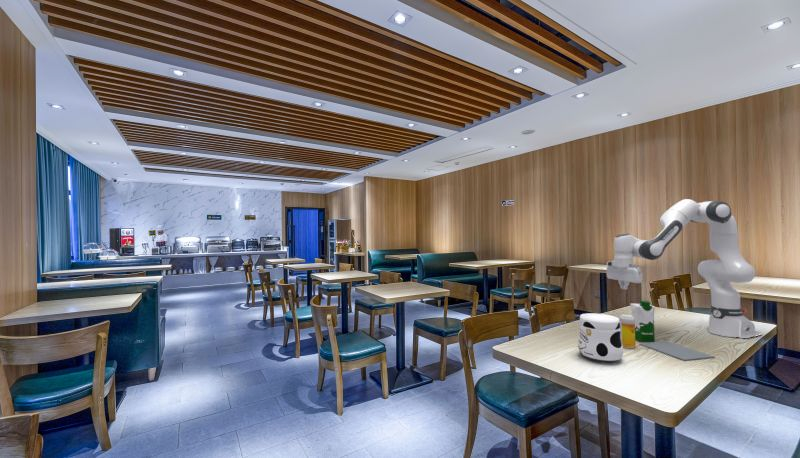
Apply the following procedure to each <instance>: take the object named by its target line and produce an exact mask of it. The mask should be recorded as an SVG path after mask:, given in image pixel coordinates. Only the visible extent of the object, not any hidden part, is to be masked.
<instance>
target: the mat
mask: <svg viewBox="0 0 800 458" xmlns="http://www.w3.org/2000/svg"><path fill="white" fill-rule="evenodd" d="M638 345H639V346H642V347H644V348H647V349H650V350H653V351H655V352H658V353H661V354H663V355H667V356H669V357H672V358H675V359H677V360H680V361H682V362H690V361H698V360H707V359H708V360H709V359H715V357H716V356H714V355H711V354H708V353H705V352H702V351H699V350H695V349H692V348H691V347H687V346H683V345H681V344H677V343H674V342H673V341H672V342H671V341H669V340H662V341H655V342H640V343H639V344H638Z"/></svg>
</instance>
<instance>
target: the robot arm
mask: <svg viewBox="0 0 800 458" xmlns="http://www.w3.org/2000/svg"><path fill="white" fill-rule="evenodd" d="M659 222H660V225H661V226H662V228H663V229H662V230H661V231H660V232H659V233H658V235H656V236H655V237H654V238H652V239H648V240H647V239H646V240H645V239H640V238H637V237H635V236H633V235H632V234H630V233H623V234H622V233H621V234H617V235H616V236H615V237H614V240H613V252H614V257H613V260H610V261H609V260H608V261H607V262H606V266H607V267H606V277H607V279H610V280H613V281H618V285H619V286H620V287H619V288H620V290H621V289H622V290H626V291H627V290H628V289H629V288H628V287H629V286H630V283H634V284H642V282H643V274H642V269H641V267H640V266H639V265H638V264H637V265H636V264H634V257H635V258H640V259H646V260H650V261H654V260H658V259H659V258H661V257H662V255H664V254H663V253H664V252H665V250H666V248H667V247H668V246H669V245H670V243H671V242H672V241H673V240H674V239H675V238H676V237H677V236H678V235H679V234H680V233H681V232H682V230H683V228H684V227H685V226H686V225H688V223H689V222H692V223H707V224H708V226H709V249H710V251H712V252H713V253H715V254H716V255H717V257H718V259H706V260H702V261H700V263H699V264H698V266H697V272H698V274H699V275H700V276H701V277H702V278H703V279H704V280H705V282H706V283H707V285H708V287H709V290H710V297H711V305H710V308H709V309H710V313H711V314H710V315H709V319H708V326H706V330H708V332H709V333H711V334H714V335H717V336H722V337H728V338H736V337H739V338H738V339H743V338H749V337H753V336H756V335H759V334H762V333H761V332H759V331H756V326H755V324H754V322H753V321H751V320H750V319H748V317H746V316H745V315H744V313H746V314H747V312H748V309H747V308H741V294H740V292H738V291H737V290H736V289H735V288H734V287H733V286H732V285H731V283H736V284H743V283H744V284H745V283H749V282H752V281H753V280H754V279H755V277H756V269H755V268H754V266H753V265H751V264H750V263H749V262H747V261H746V260H745V258H744V256H743V255H742V252H741V250H740V244H739V231H738V224H737V221H736V218H735V216H733V213H732V208H731V206H730V204H728V202H725V201H722V200H714V201H711V200H709V201H708V200H707V201H702V202H696V201H695V200H694V199H689V198H685V199H681V200H680V201H678V202H676V203H675V204H673V205H672V206H671V207H670V208H668V209H666V211H665V212H664V213H663V214H661V216H660V218H659ZM749 339H750V338H749Z"/></svg>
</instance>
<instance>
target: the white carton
mask: <svg viewBox="0 0 800 458" xmlns="http://www.w3.org/2000/svg"><path fill="white" fill-rule="evenodd" d="M630 309H631V315H632V316H634V319H635V341H638V342H640V343H649V342H656V340H655V339H656V337H655V310H656V306H654V305H651V303H650V301H647V300H640V301H639V303H635V302H634V303H633V302H631V303H630Z"/></svg>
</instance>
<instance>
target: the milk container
mask: <svg viewBox="0 0 800 458" xmlns="http://www.w3.org/2000/svg"><path fill="white" fill-rule="evenodd" d="M577 348H578V352H579V353H580V354H581V355H582V357H585V358H586V359H589V360H592V361H596V362H604V363H614V362H619V361H621V360H622V359H623V356H624V347H623V346H622V343H621V338H620V317H617V316H614V315H611V314H605V313H593V312H592V313H590V312H589V313H582V314H580V315H579V338H578V342H577Z"/></svg>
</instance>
